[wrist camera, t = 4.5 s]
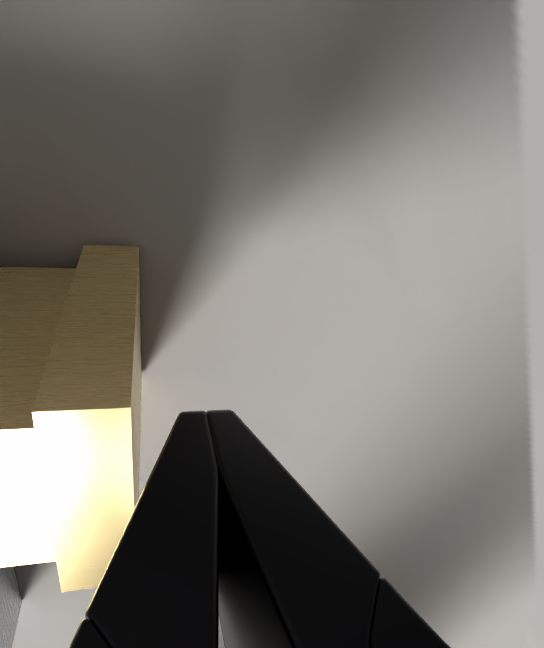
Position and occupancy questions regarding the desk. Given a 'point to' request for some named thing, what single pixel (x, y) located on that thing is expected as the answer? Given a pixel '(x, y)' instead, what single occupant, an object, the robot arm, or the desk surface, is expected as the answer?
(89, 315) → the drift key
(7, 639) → the socket
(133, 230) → the desk surface
